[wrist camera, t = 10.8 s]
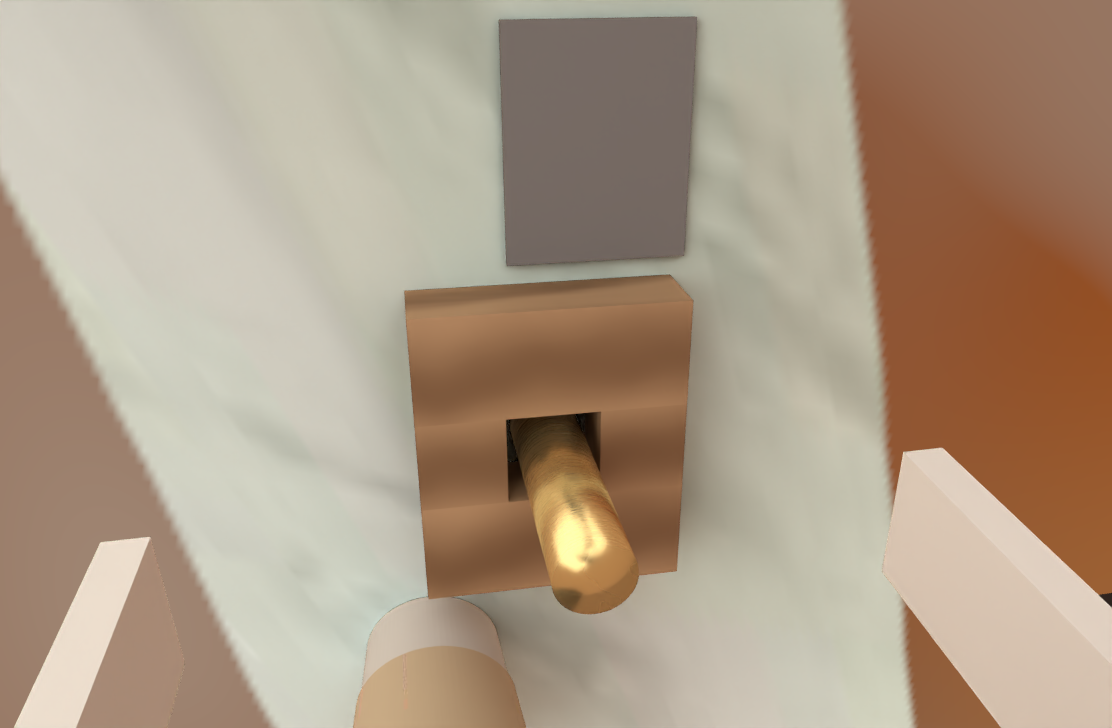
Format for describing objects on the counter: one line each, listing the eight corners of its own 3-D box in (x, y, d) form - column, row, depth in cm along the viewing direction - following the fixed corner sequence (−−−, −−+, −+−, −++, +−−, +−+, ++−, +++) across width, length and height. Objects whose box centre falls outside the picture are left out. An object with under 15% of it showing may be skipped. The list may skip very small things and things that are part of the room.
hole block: (404, 290, 39) (405, 319, 36) (669, 274, 41) (693, 300, 37) (425, 554, 45) (428, 599, 41) (657, 529, 46) (676, 570, 43)
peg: (509, 396, 42) (551, 546, 31) (575, 390, 42) (640, 536, 31) (511, 455, 43) (551, 618, 32) (575, 449, 44) (637, 608, 33)
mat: (498, 19, 35) (499, 20, 35) (694, 16, 36) (697, 17, 36) (506, 263, 39) (507, 265, 39) (681, 252, 40) (684, 255, 40)
